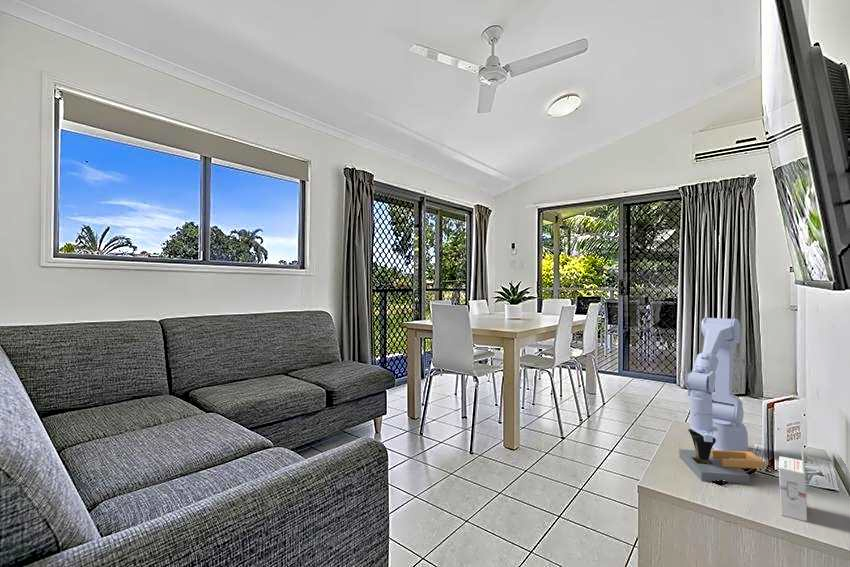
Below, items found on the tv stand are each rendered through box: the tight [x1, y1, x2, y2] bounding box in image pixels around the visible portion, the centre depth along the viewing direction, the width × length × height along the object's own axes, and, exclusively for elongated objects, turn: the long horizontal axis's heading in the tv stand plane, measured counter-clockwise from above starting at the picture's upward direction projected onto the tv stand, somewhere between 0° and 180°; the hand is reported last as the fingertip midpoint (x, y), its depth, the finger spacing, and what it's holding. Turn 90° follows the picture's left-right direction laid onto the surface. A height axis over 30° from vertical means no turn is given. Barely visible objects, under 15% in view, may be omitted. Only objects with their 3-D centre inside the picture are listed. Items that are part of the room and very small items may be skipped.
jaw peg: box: [695, 442, 708, 464], centre depth 125 cm, size 3×3×6 cm
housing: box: [678, 449, 750, 485], centre depth 124 cm, size 12×16×2 cm
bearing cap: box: [711, 449, 766, 470], centre depth 123 cm, size 11×7×2 cm, turn 78°
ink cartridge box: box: [778, 449, 808, 522], centre depth 102 cm, size 9×5×15 cm, turn 139°
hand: (702, 456), depth 125 cm, fingers closed on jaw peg, 3 cm apart
